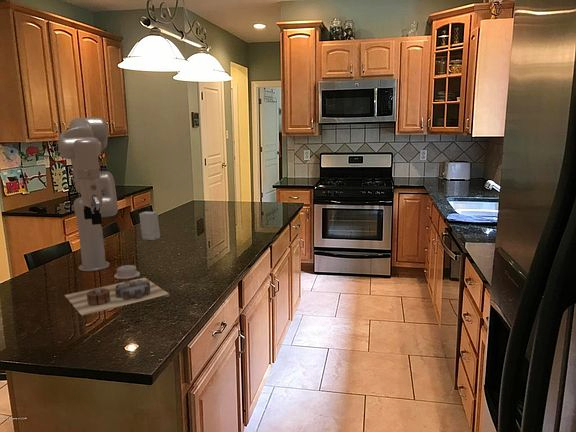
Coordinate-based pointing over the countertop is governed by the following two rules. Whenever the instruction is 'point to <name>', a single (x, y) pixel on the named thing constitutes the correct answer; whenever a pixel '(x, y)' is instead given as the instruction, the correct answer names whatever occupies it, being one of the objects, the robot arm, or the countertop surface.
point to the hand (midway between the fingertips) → (93, 221)
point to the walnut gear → (98, 297)
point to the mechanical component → (127, 272)
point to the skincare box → (149, 225)
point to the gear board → (117, 295)
